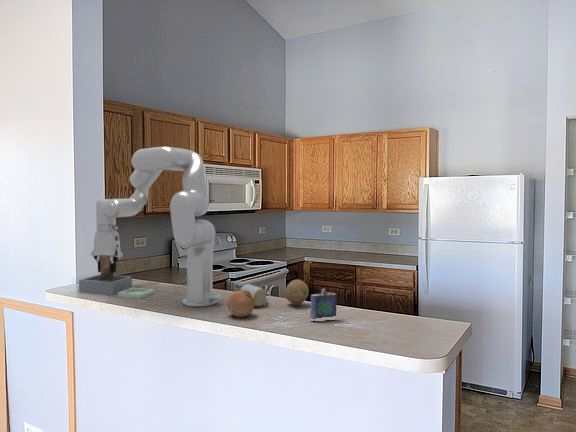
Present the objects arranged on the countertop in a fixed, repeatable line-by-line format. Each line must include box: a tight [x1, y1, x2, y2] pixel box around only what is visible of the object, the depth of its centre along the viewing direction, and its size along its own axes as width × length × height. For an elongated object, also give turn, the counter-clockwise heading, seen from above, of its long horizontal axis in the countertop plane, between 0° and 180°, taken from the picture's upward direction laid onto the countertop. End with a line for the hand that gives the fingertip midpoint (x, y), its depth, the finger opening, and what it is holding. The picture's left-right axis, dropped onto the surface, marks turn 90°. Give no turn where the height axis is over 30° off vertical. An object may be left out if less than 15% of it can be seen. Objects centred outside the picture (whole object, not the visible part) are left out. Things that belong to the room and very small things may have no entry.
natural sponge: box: [284, 279, 310, 306], centre depth 172 cm, size 9×9×10 cm
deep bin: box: [78, 273, 133, 296], centre depth 191 cm, size 16×13×5 cm
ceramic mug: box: [239, 283, 269, 308], centre depth 172 cm, size 11×8×8 cm
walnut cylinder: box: [100, 255, 114, 280], centre depth 191 cm, size 5×5×10 cm
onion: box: [226, 290, 255, 318], centre depth 156 cm, size 10×9×10 cm
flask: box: [309, 288, 338, 319], centre depth 153 cm, size 9×3×11 cm, turn 109°
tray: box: [117, 287, 155, 300], centre depth 183 cm, size 10×10×2 cm
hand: (107, 271), depth 191 cm, fingers closed on walnut cylinder, 5 cm apart
